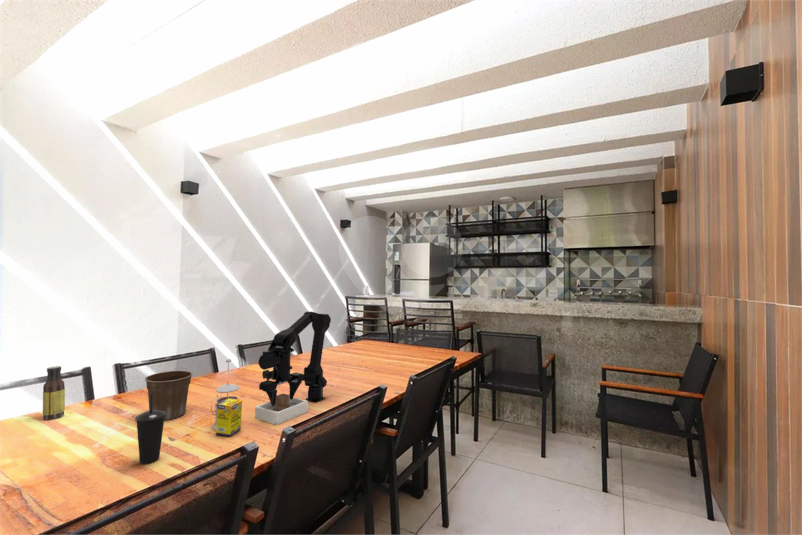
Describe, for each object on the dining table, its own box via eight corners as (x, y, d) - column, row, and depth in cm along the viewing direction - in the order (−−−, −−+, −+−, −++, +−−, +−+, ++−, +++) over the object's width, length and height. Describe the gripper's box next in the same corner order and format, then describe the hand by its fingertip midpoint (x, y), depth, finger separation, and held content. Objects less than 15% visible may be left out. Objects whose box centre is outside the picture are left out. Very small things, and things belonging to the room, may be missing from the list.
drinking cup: (144, 454, 111) (146, 390, 112) (169, 453, 112) (171, 389, 112) (127, 467, 103) (130, 398, 104) (155, 466, 104) (157, 397, 105)
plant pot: (197, 415, 143) (198, 375, 143) (149, 427, 131) (150, 383, 132) (184, 405, 154) (185, 368, 155) (139, 415, 142) (140, 375, 143)
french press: (246, 422, 137) (248, 357, 138) (222, 434, 126) (224, 363, 127) (227, 418, 140) (228, 355, 141) (201, 430, 129) (203, 361, 130)
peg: (282, 410, 147) (283, 393, 147) (289, 412, 145) (289, 395, 145) (274, 413, 144) (275, 396, 144) (281, 415, 142) (281, 397, 142)
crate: (286, 406, 154) (286, 395, 155) (307, 411, 148) (308, 401, 148) (254, 418, 141) (255, 406, 141) (276, 425, 134) (277, 413, 134)
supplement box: (230, 437, 124) (231, 406, 123) (215, 434, 125) (216, 404, 125) (241, 429, 129) (242, 399, 129) (227, 427, 131) (228, 397, 130)
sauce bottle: (67, 413, 144) (69, 364, 144) (59, 419, 138) (61, 368, 139) (47, 415, 142) (49, 365, 142) (37, 421, 136) (40, 369, 136)
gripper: (287, 357, 157) (286, 393, 157) (250, 366, 141) (249, 405, 141) (305, 360, 151) (304, 397, 151) (269, 370, 135) (268, 411, 135)
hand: (282, 402), depth 145 cm, fingers open, 9 cm apart
